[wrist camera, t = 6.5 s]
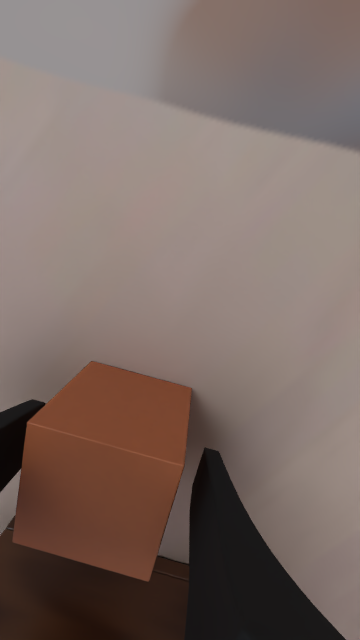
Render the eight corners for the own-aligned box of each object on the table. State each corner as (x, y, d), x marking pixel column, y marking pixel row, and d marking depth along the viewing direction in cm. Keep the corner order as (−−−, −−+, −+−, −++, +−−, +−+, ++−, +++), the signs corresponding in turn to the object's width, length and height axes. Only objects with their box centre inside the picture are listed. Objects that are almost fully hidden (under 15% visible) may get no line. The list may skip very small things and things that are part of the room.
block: (75, 446, 15) (11, 542, 10) (91, 360, 13) (26, 422, 8) (167, 471, 14) (149, 582, 10) (192, 387, 13) (184, 466, 8)
